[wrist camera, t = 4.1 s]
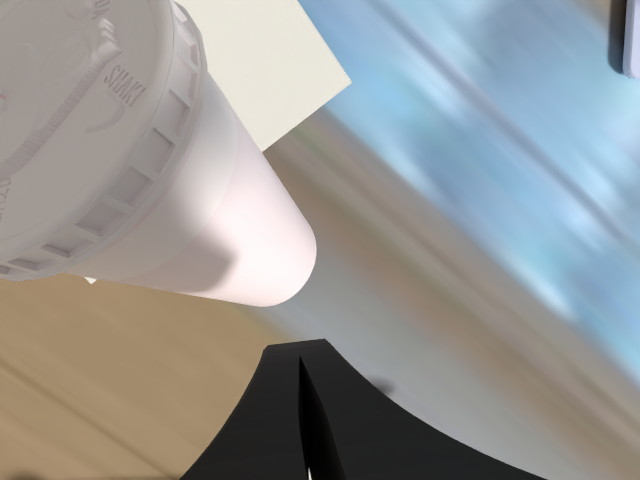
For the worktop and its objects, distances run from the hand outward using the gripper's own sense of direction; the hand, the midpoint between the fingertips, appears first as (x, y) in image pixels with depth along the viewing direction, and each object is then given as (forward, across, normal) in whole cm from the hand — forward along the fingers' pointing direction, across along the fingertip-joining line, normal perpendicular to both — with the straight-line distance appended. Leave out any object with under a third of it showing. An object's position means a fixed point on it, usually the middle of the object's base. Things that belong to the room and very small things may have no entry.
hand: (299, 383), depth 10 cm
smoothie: (+8, 0, 0) cm, 8 cm away
